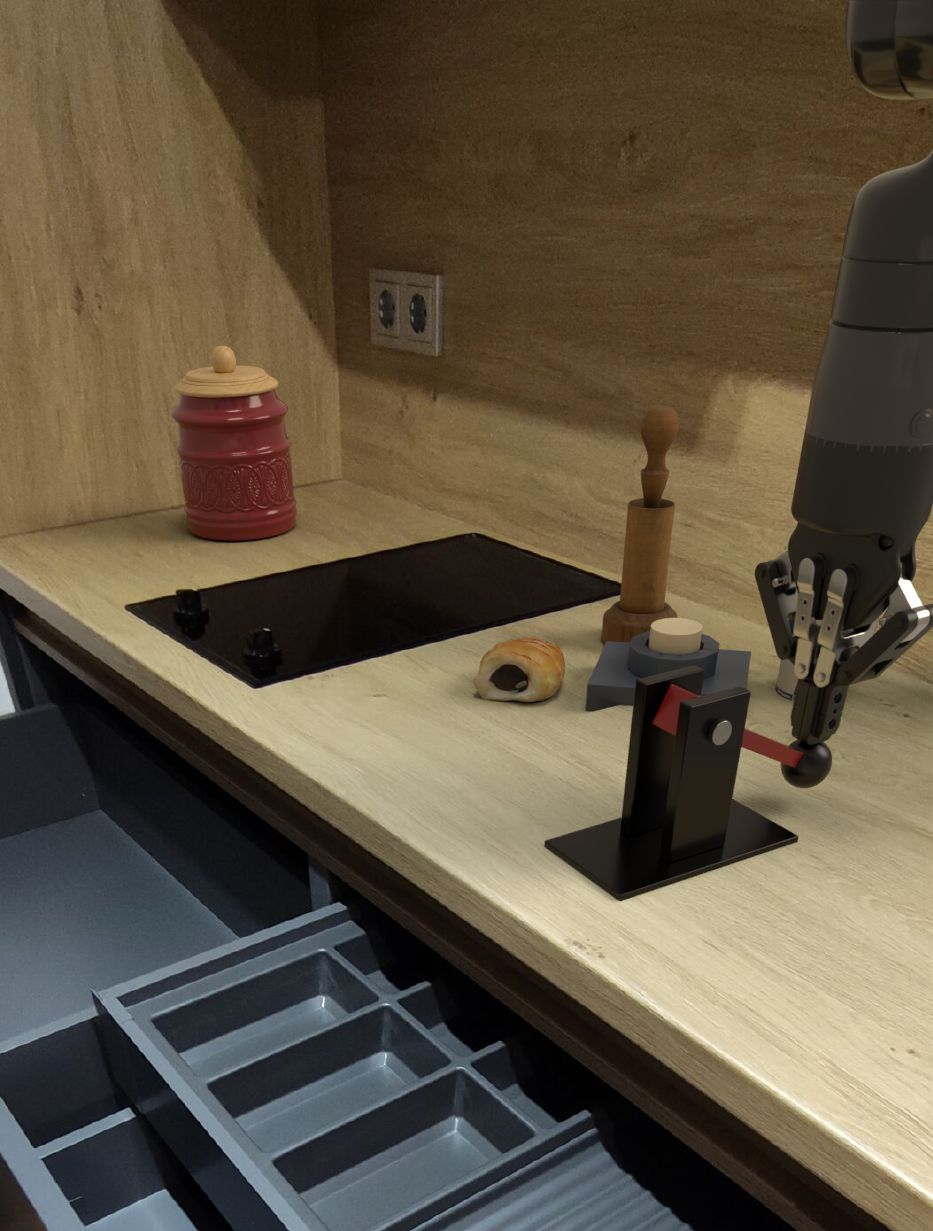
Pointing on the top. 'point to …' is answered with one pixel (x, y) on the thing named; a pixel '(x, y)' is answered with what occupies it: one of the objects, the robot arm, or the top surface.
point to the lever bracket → (675, 796)
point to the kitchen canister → (233, 451)
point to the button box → (660, 669)
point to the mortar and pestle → (646, 538)
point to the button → (675, 636)
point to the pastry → (520, 671)
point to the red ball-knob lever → (761, 745)
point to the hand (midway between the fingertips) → (810, 738)
